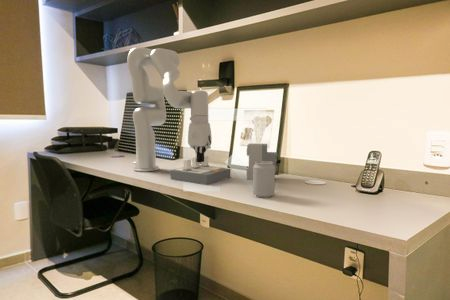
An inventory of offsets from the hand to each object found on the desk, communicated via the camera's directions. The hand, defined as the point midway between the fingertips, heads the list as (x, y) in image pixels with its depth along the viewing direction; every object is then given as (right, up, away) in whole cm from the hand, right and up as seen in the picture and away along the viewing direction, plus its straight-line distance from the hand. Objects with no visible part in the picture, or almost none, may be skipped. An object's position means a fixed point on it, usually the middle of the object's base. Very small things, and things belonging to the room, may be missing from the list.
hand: (200, 161), depth 144 cm
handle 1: (-5, -3, -3) cm, 7 cm away
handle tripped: (-2, -3, +2) cm, 4 cm away
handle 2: (+1, -2, +7) cm, 7 cm away
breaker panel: (0, -7, +1) cm, 8 cm away
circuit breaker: (+28, -8, 0) cm, 29 cm away
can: (+24, -11, -29) cm, 39 cm away
